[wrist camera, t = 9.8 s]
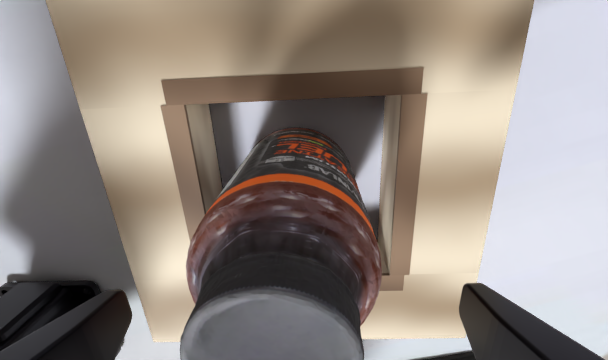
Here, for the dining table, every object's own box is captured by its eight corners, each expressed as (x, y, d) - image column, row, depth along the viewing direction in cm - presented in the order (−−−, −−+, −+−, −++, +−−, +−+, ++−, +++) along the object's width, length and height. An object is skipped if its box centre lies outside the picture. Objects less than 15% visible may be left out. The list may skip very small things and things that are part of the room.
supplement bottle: (366, 143, 16) (475, 299, 5) (330, 234, 18) (357, 473, 8) (258, 109, 15) (147, 210, 5) (234, 207, 18) (120, 424, 7)
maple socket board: (443, 298, 20) (465, 338, 17) (175, 303, 20) (153, 342, 18) (494, -24, 13) (544, -47, 10) (95, 0, 14) (39, -16, 11)
